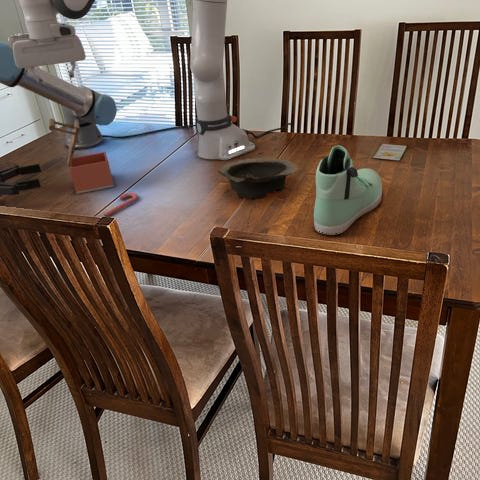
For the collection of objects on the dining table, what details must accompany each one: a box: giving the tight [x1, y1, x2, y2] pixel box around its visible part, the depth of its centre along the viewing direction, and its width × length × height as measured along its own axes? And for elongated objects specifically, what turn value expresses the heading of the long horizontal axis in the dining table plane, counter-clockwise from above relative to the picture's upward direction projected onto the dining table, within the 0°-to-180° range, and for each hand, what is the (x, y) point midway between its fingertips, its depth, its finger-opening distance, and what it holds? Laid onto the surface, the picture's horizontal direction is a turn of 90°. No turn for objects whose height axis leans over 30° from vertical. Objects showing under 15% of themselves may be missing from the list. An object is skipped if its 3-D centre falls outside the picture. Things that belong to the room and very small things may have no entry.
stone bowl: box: [217, 157, 299, 201], centre depth 152 cm, size 25×25×9 cm
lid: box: [48, 118, 80, 168], centre depth 156 cm, size 13×10×9 cm
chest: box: [68, 151, 115, 195], centre depth 164 cm, size 13×10×9 cm
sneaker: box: [313, 145, 383, 236], centre depth 133 cm, size 14×35×20 cm, turn 152°
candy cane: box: [103, 192, 139, 218], centre depth 150 cm, size 6×15×2 cm, turn 145°
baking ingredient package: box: [373, 143, 407, 161], centre depth 172 cm, size 9×1×15 cm
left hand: (40, 174), depth 159 cm, fingers open, 13 cm apart
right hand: (56, 79), depth 147 cm, fingers open, 8 cm apart
